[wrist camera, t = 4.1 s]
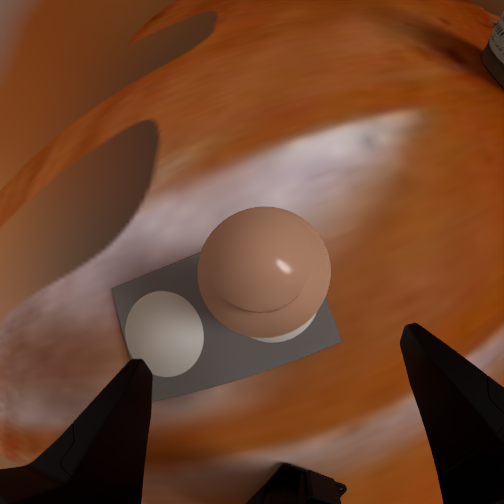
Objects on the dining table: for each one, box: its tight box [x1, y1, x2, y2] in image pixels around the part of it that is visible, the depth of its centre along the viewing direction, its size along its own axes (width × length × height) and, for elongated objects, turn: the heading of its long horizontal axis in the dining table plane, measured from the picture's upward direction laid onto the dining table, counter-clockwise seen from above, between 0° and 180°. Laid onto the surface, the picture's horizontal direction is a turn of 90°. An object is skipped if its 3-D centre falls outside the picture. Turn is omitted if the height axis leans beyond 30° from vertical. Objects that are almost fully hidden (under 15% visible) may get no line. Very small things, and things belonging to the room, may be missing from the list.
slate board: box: [112, 253, 342, 401], centre depth 20 cm, size 16×10×1 cm, turn 110°
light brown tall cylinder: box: [198, 207, 331, 338], centre depth 14 cm, size 5×5×12 cm
